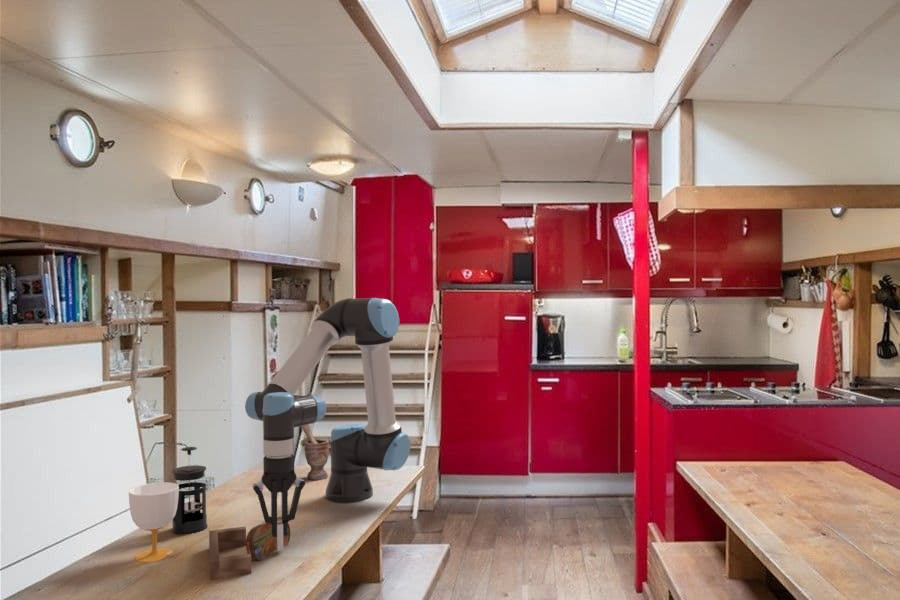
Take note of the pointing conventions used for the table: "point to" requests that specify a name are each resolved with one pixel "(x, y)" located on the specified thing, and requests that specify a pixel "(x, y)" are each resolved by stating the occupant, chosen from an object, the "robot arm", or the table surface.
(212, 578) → the shelf
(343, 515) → the table surface
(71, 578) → the table surface
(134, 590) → the table surface
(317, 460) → the mortar and pestle
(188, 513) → the french press
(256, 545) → the tin
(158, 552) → the cup
